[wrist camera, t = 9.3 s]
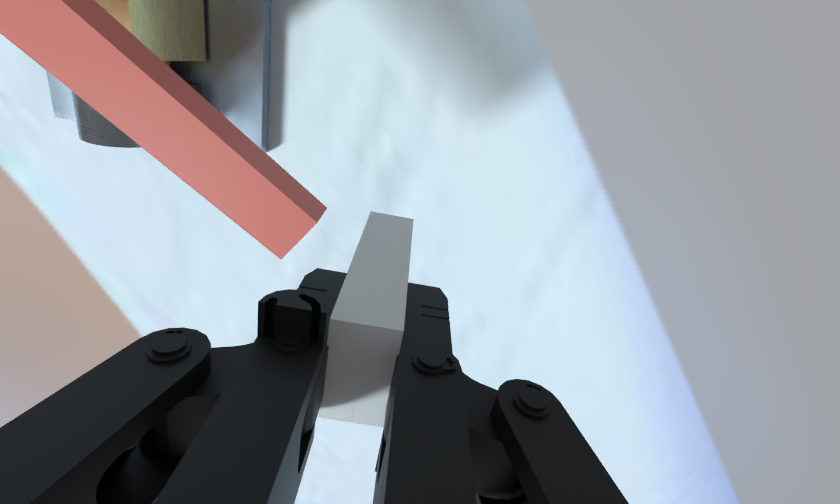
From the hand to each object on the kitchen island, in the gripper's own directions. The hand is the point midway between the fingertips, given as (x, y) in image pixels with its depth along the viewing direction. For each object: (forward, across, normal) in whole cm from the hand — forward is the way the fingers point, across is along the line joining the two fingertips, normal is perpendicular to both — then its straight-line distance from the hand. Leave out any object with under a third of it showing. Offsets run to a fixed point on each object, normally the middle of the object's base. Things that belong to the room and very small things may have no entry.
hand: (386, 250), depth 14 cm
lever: (+7, -11, +3) cm, 13 cm away
